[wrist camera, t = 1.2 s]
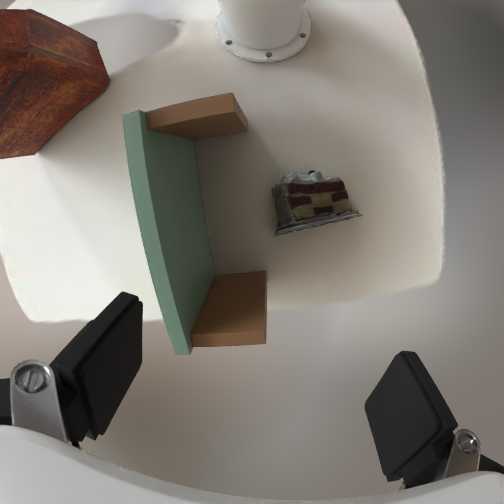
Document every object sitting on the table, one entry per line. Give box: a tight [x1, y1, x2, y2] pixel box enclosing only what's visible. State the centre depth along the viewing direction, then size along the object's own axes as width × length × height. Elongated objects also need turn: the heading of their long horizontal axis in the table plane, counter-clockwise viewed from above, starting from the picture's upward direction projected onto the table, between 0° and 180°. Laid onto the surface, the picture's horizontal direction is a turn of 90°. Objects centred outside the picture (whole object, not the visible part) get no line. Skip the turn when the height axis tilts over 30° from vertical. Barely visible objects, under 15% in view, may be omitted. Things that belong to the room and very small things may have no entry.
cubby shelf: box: [122, 93, 267, 355], centre depth 29 cm, size 22×9×16 cm, turn 7°
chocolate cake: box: [272, 171, 362, 236], centre depth 33 cm, size 10×7×12 cm
